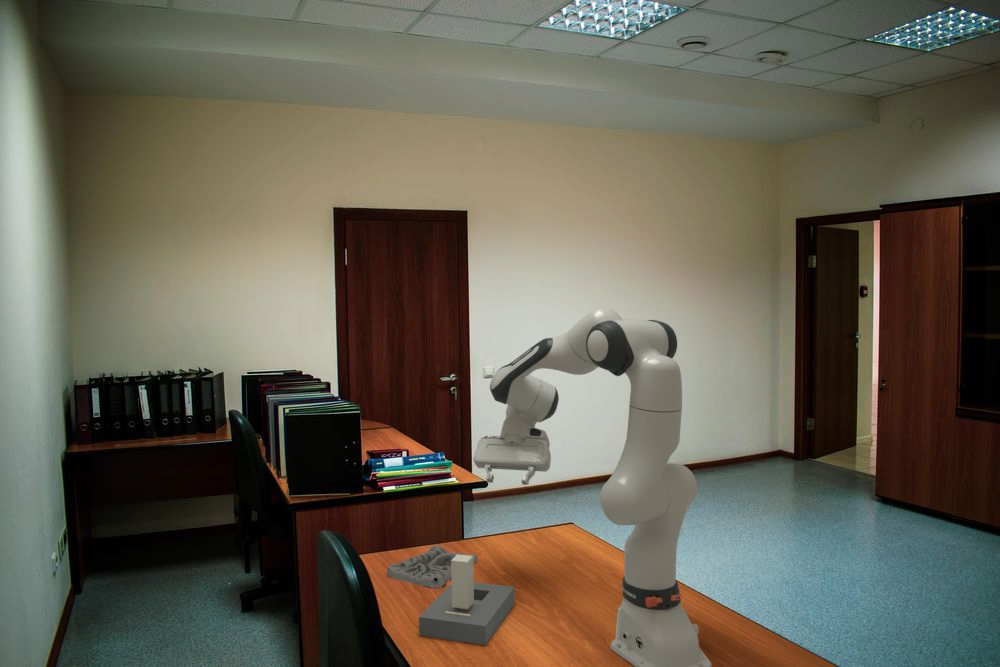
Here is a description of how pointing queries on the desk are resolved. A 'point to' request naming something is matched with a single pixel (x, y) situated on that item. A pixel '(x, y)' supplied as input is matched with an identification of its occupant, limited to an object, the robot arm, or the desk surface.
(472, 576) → the post
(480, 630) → the keyhole plate
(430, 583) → the wall plaque
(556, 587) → the desk surface
